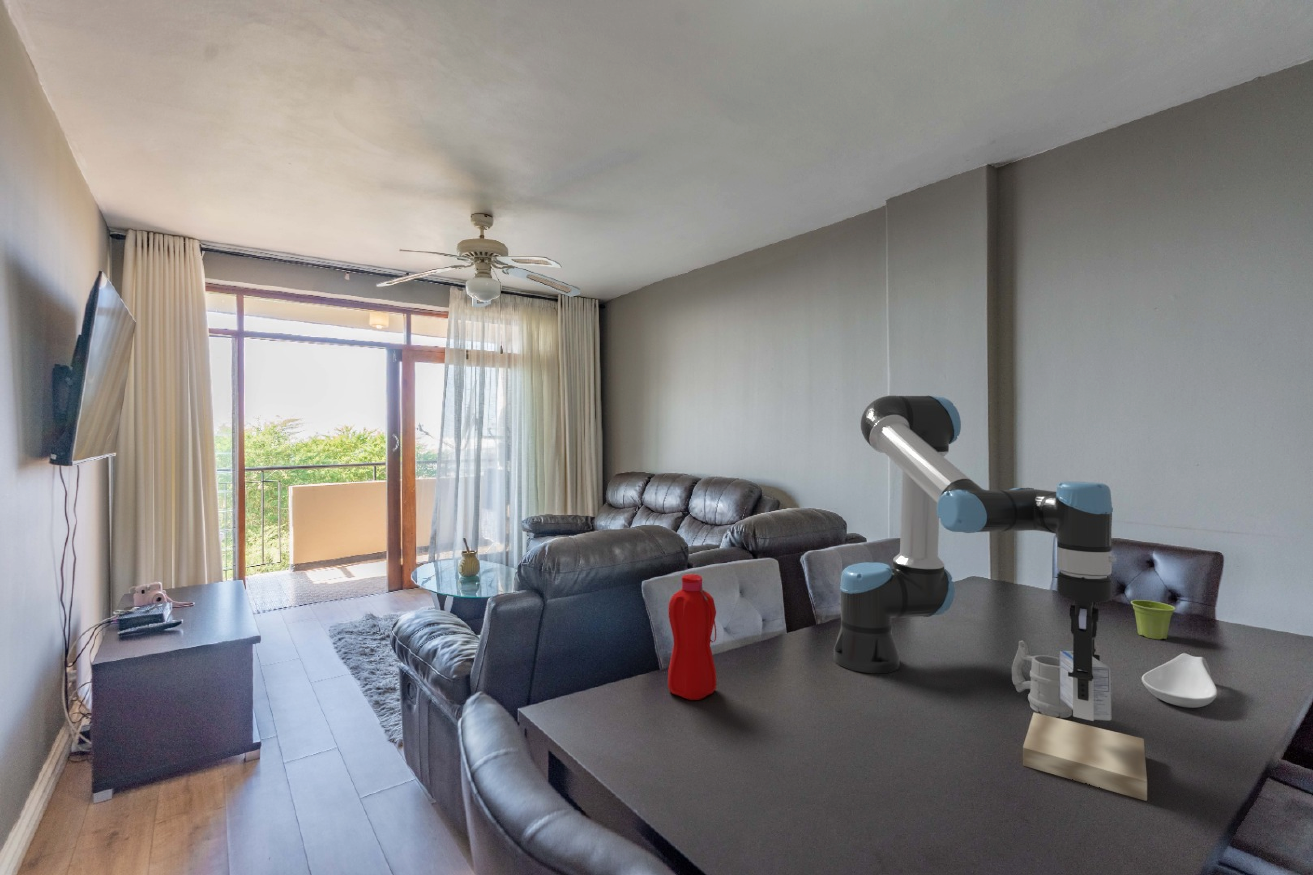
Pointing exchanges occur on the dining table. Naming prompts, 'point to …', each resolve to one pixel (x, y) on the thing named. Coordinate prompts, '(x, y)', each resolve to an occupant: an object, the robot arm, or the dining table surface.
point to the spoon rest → (1182, 682)
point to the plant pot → (1152, 618)
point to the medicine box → (1100, 685)
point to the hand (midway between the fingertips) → (1084, 707)
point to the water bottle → (692, 640)
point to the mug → (1040, 682)
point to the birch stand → (1087, 755)
